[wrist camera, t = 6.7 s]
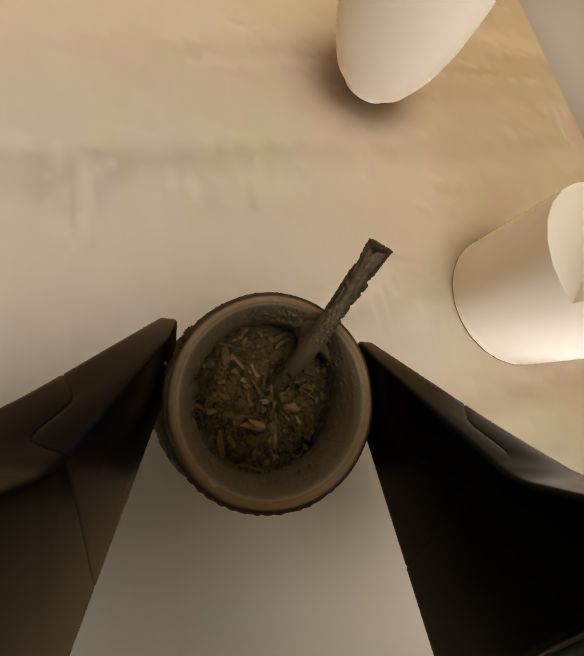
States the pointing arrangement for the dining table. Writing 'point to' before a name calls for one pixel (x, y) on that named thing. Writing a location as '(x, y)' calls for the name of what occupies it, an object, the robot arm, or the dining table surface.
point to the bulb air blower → (401, 42)
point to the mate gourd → (270, 398)
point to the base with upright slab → (528, 284)
